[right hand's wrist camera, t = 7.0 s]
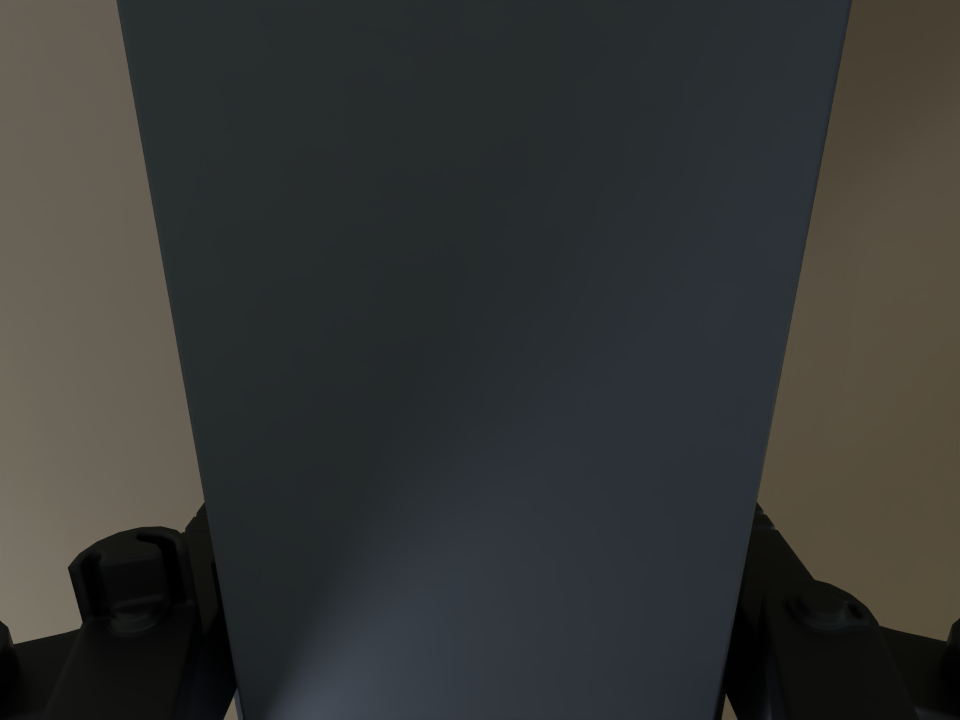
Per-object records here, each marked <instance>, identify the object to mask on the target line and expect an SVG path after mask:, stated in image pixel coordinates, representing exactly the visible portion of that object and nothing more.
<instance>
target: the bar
mask: <svg viewBox="0 0 960 720" xmlns="http://www.w3.org/2000/svg"><path fill="white" fill-rule="evenodd" d="M851 3H852V0H117V5H118V11H119V17H120V22H121V28H122V34H123V40H124V45H125V51H126V57H127V62H128V68H129V74H130V79H131V85H132V91H133V96H134V102H135V108H136V113H137V119H138V125H139V130H140V136H141V142H142V147H143V153H144V159H145V165H146V170H147V176H148V182H149V187H150V193H151V199H152V204H153V210H154V216H155V221H156V227H157V233H158V238H159V244H160V250H161V255H162V261H163V267H164V272H165V278H166V284H167V290H168V295H169V301H170V307H171V312H172V318H173V324H174V329H175V335H176V341H177V346H178V352H179V358H180V363H181V369H182V375H183V380H184V386H185V392H186V397H187V403H188V409H189V415H190V420H191V426H192V432H193V437H194V443H195V449H196V454H197V460H198V466H199V471H200V477H201V483H202V488H203V494H204V500H205V505H206V511H207V517H208V522H209V528H210V534H211V540H212V545H213V551H214V557H215V562H216V568H217V574H218V579H219V585H220V591H221V596H222V602H223V608H224V613H225V619H226V625H227V630H228V636H229V642H230V647H231V653H232V659H233V664H234V670H235V676H236V682H237V687H238V693H239V699H240V704H241V710H242V716H243V720H715V717H716V712H717V707H718V702H719V696H720V691H721V686H722V680H723V675H724V670H725V665H726V659H727V654H728V649H729V644H730V638H731V633H732V628H733V623H734V617H735V612H736V607H737V602H738V596H739V591H740V586H741V581H742V575H743V570H744V565H745V560H746V554H747V549H748V544H749V539H750V533H751V528H752V523H753V518H754V512H755V507H756V502H757V497H758V491H759V486H760V481H761V476H762V470H763V465H764V460H765V455H766V449H767V444H768V439H769V434H770V428H771V423H772V418H773V412H774V407H775V402H776V397H777V391H778V386H779V381H780V376H781V370H782V365H783V360H784V355H785V349H786V344H787V339H788V334H789V328H790V323H791V318H792V313H793V307H794V302H795V297H796V292H797V286H798V281H799V276H800V271H801V265H802V260H803V255H804V250H805V244H806V239H807V234H808V229H809V223H810V218H811V213H812V208H813V202H814V197H815V192H816V187H817V181H818V176H819V171H820V166H821V160H822V155H823V150H824V144H825V139H826V134H827V129H828V123H829V118H830V113H831V108H832V102H833V97H834V92H835V87H836V81H837V76H838V71H839V66H840V60H841V55H842V50H843V45H844V39H845V34H846V29H847V24H848V18H849V13H850V8H851Z"/></svg>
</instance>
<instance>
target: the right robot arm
mask: <svg viewBox="0 0 960 720" xmlns="http://www.w3.org/2000/svg"><path fill="white" fill-rule="evenodd" d="M68 570H69V573H70V577H71V581H72V585H73V588H74V592H75V596H76V599H77V603H78V607H79V610H80V614H81V618H82V621H83V623H82V625H81V628H80V629H77V630H74V631H70V632H67V633H63V634H58V635H54V636H49V637H45V638H40V639H36V640H31V641H27V642H22V643H18V644H13V641H12V638H11V635H10V632H9V629H8V627H7V626H6V625H5V624H3V623H2V622H1V621H0V720H223V719H224V717H225V715H226V712H227V710H228V708H229V706H230V703H231V701H232V699H233V696H234V698H235V704H236V710H237V715H238V720H243V716H242V710H241V704H240V699H239V693H238V687H237V682H236V676H235V670H234V664H233V659H232V653H231V647H230V642H229V636H228V630H227V625H226V619H225V613H224V608H223V602H222V596H221V591H220V585H219V579H218V574H217V568H216V562H215V557H214V551H213V545H212V540H211V534H210V528H209V522H208V517H207V511H206V505H205V502H204V504H203V505H202V506H201V508H200V509H199V511H198V512H197V515H196V517H193V519H192V520H191V521H190V523H189V524H188V526H187V527H186V528H185V532H182V534H181V533H180V532H178V531H177V530H174V529H170V528H166V527H161V526H159V527H140V528H135V529H131V530H127V531H123V532H118V533H116V534H114V535H111V536H109V537H107V538H104V539H102V540H100V541H97V542H96V543H94V544H93V545H91V546H90V547H88V548H87V549H85V550H84V551H83V552H81V553H80V554H79V555H78V556H77V557H76V558H75V559H74V561H73V562H72V563H71V564H70V565H69V567H68ZM726 694H727V696H728V699H729V701H730V703H731V705H732V708H733V710H734V712H735V715H736V717H737V719H738V720H960V619H958V620H957V621H956V622H955V623H954V624H952V627H951V630H950V633H949V636H948V639H947V642H946V641H941V640H937V639H932V638H928V637H923V636H919V635H914V634H910V633H905V632H901V631H896V630H893V629H889V628H886V627H882V626H879V624H878V622H877V620H876V619H875V618H874V616H873V615H872V613H871V612H870V611H869V609H868V608H867V607H866V606H865V605H864V604H863V603H861V602H860V601H859V600H857V599H856V598H855V597H854V596H852V595H851V594H850V593H847V592H845V591H843V590H841V589H839V588H837V587H835V586H833V585H831V584H829V583H825V582H821V581H817V580H814V579H813V577H812V576H811V575H810V573H809V572H808V571H807V569H806V568H805V566H804V565H803V564H802V562H801V561H800V560H799V558H798V557H797V556H796V554H795V553H794V552H793V550H792V549H791V548H790V546H789V545H788V544H787V542H786V541H785V539H784V538H783V537H782V535H781V534H780V533H779V531H778V530H775V526H774V525H773V523H772V522H771V521H770V519H769V518H768V516H767V515H764V513H763V510H762V508H761V507H760V506H759V504H758V503H757V502H756V507H755V512H754V518H753V523H752V528H751V533H750V539H749V544H748V549H747V554H746V560H745V565H744V570H743V575H742V581H741V586H740V591H739V596H738V602H737V607H736V612H735V617H734V623H733V628H732V633H731V638H730V644H729V649H728V654H727V659H726V665H725V670H724V675H723V680H722V686H721V691H720V696H719V702H718V707H717V712H716V717H715V720H721V719H722V713H723V707H724V702H725V696H726Z"/></svg>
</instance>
